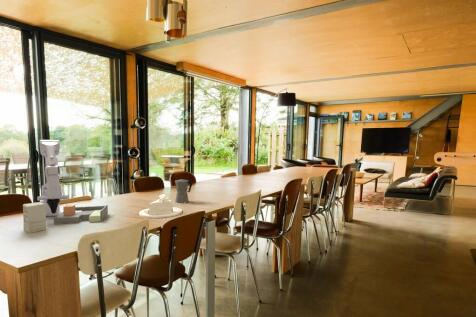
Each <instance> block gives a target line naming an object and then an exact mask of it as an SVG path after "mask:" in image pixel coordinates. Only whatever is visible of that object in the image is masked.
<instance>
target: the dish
mask: <svg viewBox="0 0 476 317" xmlns="http://www.w3.org/2000/svg"><path fill="white" fill-rule="evenodd" d="M158 197H159V198H158V199H157V200H155V201H152V202H150V203H148V208H145V209H141V210H140V211H139V212H138V213H139V214H138V215H139V217H142V218H146V219H164V218H165V217H166V218H172V216H173V217H176V215H177V216H179V215H181V214H183V209H182V208H179V207H175V206H174V200H170V199H169V198H170V194H165V193H162V194H159V195H158ZM166 218H165V219H166Z"/></svg>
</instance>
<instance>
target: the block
mask: <svg viewBox="0 0 476 317" xmlns="http://www.w3.org/2000/svg"><path fill="white" fill-rule="evenodd" d="M75 207H76V204H66V205H64V206H63V209H62V210H63V211H62V212H63V214H64V215H73V214H75V212H76V211H75Z"/></svg>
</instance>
